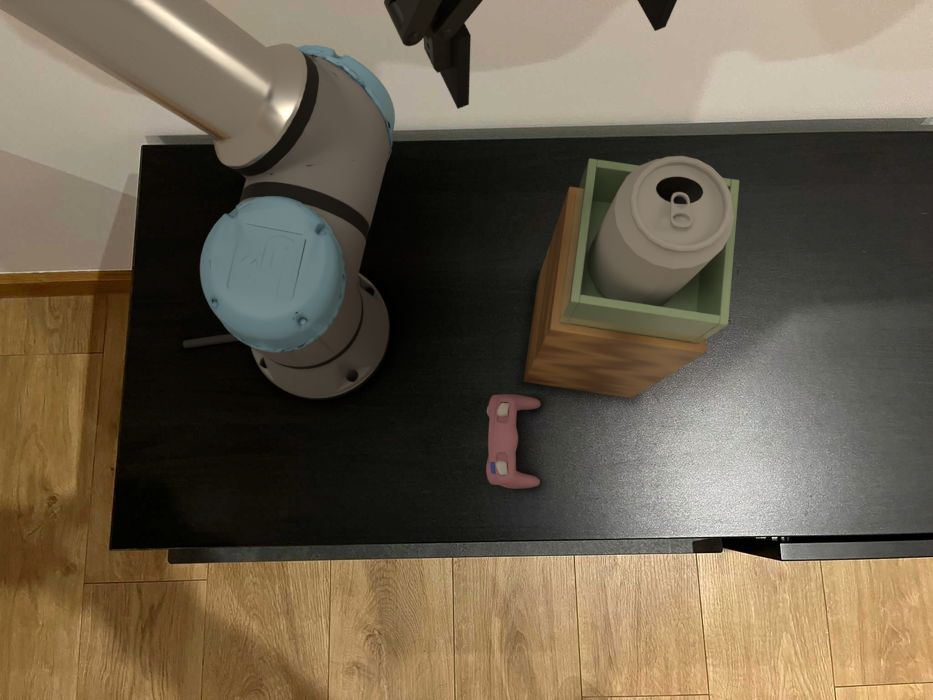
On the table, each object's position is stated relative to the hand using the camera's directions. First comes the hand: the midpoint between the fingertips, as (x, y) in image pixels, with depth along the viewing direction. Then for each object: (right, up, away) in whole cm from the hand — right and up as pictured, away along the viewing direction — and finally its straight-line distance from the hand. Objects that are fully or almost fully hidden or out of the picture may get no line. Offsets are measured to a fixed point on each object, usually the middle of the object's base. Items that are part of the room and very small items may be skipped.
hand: (553, 50), depth 43 cm
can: (+8, -12, +10) cm, 18 cm away
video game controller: (0, -29, +32) cm, 43 cm away
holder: (+8, -12, +11) cm, 18 cm away
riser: (+8, -17, +34) cm, 39 cm away
